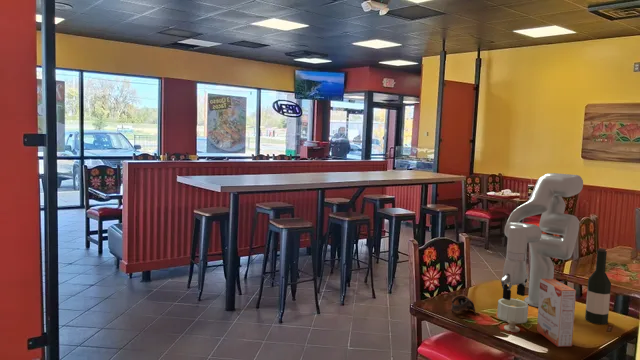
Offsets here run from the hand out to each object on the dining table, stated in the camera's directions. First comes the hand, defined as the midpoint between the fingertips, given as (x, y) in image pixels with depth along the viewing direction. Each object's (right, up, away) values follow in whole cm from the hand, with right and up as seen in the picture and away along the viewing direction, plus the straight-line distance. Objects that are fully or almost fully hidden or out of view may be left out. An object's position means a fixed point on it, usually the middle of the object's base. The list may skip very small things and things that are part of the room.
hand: (513, 297), depth 196 cm
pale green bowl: (0, -9, +1) cm, 9 cm away
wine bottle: (+34, -10, +1) cm, 36 cm away
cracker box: (+7, -11, -19) cm, 23 cm away
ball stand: (-5, -10, -11) cm, 16 cm away
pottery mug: (-19, -8, +7) cm, 22 cm away
